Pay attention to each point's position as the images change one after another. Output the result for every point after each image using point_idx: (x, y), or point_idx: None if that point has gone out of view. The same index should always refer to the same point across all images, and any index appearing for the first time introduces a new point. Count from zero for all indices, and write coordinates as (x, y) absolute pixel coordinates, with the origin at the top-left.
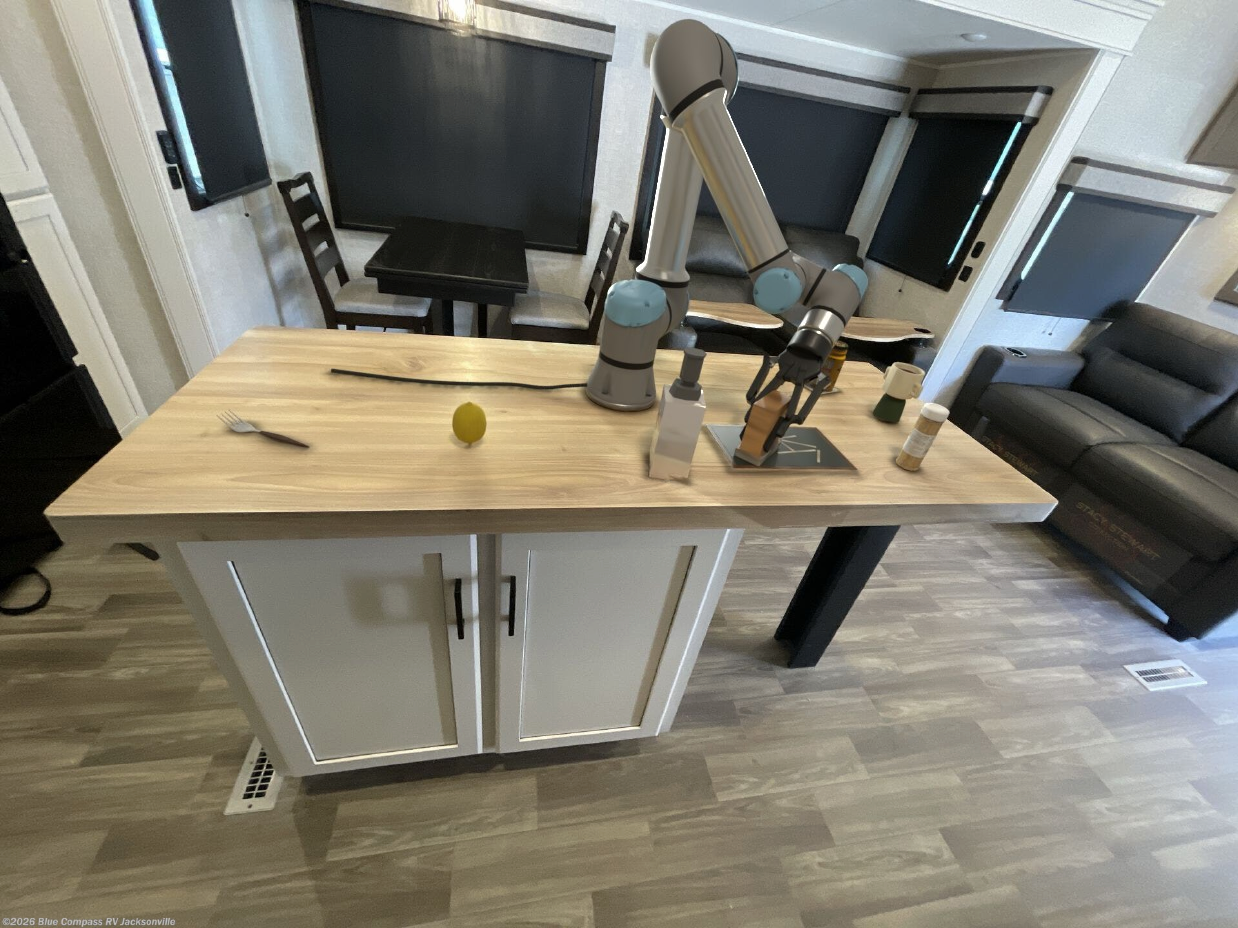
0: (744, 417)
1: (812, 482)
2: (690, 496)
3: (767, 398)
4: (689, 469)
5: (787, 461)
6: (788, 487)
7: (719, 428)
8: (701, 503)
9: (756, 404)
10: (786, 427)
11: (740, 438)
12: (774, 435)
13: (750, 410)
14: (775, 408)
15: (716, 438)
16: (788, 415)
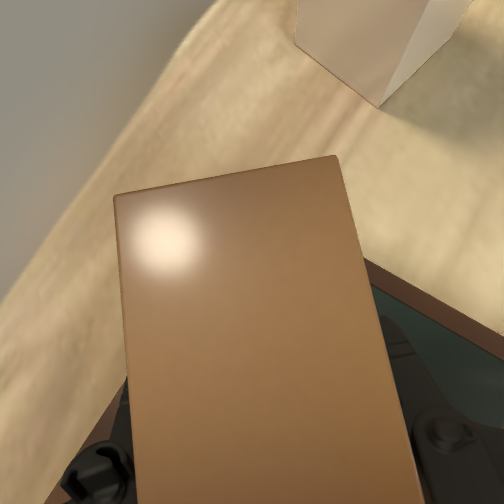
0: (394, 323)
1: (38, 419)
2: (244, 13)
3: (352, 439)
4: (298, 1)
5: None
6: (85, 301)
7: (493, 395)
8: (208, 16)
9: (312, 168)
10: (116, 417)
11: None
12: None
13: (413, 375)
14: (146, 281)
15: (430, 305)
16: (93, 461)
